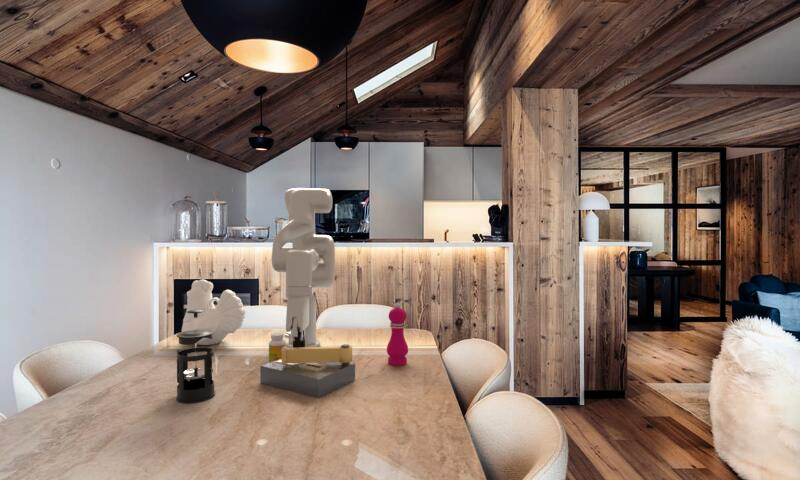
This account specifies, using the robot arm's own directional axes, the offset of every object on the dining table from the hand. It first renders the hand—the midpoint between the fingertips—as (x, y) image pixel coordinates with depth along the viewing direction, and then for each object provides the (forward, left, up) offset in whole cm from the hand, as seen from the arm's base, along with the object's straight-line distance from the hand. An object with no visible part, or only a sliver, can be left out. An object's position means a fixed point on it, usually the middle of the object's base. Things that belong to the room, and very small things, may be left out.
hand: (299, 353), depth 128 cm
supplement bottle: (-17, +8, -8) cm, 21 cm away
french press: (-14, -24, -8) cm, 29 cm away
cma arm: (+6, +1, -3) cm, 7 cm away
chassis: (+4, 0, -8) cm, 9 cm away
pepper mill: (+17, +29, -8) cm, 34 cm away
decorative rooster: (-56, +12, -8) cm, 58 cm away
